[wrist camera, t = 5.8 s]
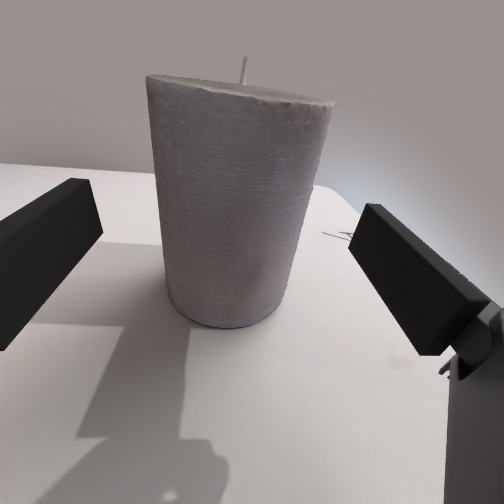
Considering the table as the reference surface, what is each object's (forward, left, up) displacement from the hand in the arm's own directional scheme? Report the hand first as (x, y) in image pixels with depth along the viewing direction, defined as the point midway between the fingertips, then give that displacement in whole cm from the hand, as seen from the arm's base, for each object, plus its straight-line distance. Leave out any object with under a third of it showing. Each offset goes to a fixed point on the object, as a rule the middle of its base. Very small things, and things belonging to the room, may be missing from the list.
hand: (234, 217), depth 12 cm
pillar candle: (+3, -3, -9) cm, 10 cm away
